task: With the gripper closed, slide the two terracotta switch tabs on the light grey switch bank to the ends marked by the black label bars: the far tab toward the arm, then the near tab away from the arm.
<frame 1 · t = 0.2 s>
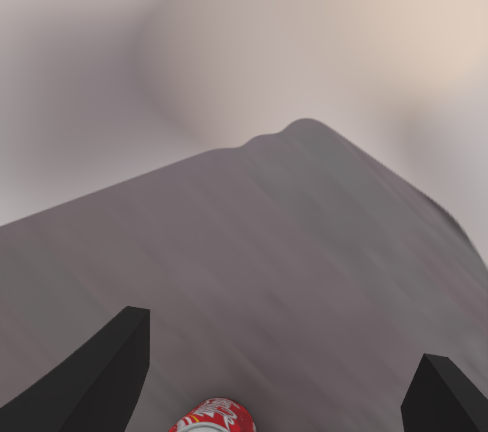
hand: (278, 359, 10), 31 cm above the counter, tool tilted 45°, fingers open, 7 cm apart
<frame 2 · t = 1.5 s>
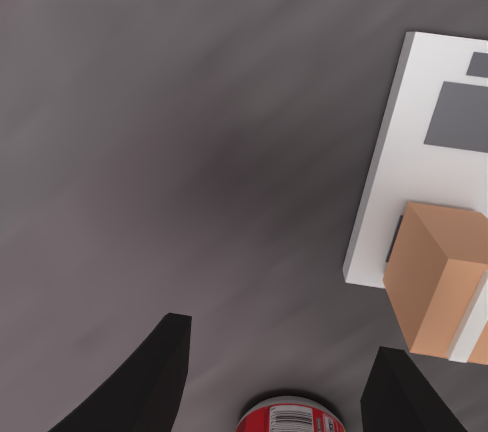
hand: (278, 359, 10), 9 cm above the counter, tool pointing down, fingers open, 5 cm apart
soda can: (291, 423, 25), on the counter
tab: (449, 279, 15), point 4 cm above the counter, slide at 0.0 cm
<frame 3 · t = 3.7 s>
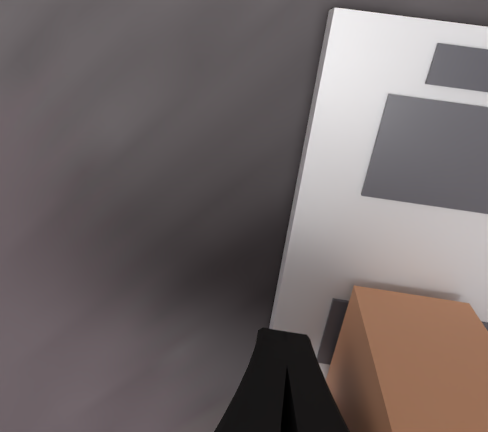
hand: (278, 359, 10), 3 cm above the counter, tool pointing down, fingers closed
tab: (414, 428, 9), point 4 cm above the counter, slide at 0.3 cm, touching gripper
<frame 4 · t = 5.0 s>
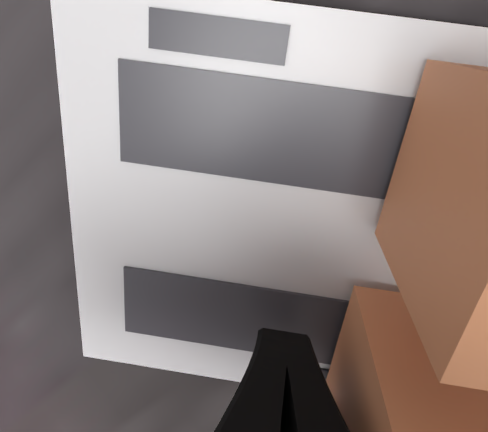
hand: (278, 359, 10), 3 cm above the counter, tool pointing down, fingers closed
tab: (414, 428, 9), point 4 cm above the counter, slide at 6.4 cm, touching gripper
switch bank: (305, 223, 11), on the counter
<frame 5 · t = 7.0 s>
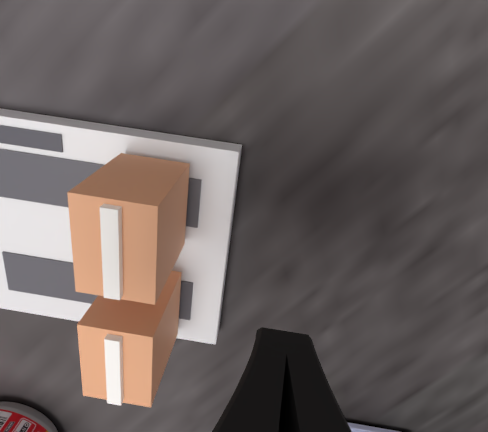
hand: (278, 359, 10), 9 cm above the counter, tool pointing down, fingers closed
soda can: (23, 425, 29), on the counter
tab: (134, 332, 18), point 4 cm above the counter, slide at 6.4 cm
switch bank: (106, 228, 20), on the counter
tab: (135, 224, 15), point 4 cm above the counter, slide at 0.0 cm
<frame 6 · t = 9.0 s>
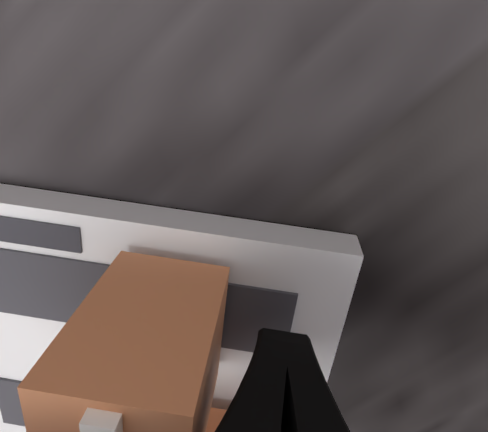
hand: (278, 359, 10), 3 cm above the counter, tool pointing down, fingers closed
switch bank: (141, 340, 14), on the counter
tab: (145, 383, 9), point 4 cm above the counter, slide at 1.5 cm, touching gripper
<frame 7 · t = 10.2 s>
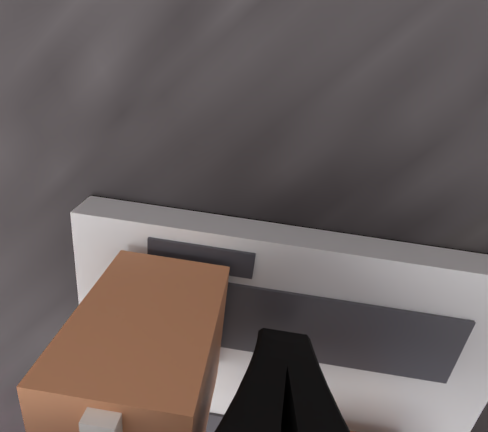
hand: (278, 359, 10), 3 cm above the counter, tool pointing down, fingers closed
switch bank: (276, 362, 14), on the counter
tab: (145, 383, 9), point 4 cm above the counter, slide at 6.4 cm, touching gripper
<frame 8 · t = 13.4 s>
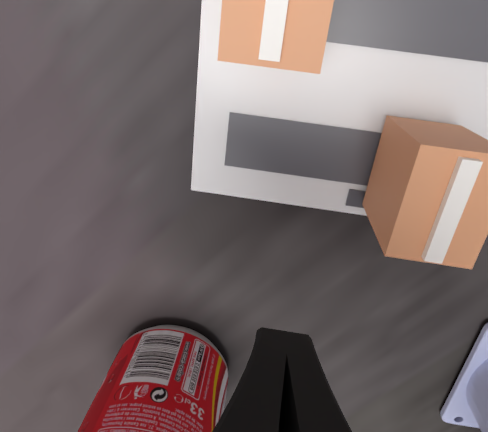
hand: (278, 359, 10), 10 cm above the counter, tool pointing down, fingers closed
soda can: (178, 356, 25), on the counter
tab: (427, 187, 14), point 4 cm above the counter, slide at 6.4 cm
switch bank: (350, 85, 17), on the counter
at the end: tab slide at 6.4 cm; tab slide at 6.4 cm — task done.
